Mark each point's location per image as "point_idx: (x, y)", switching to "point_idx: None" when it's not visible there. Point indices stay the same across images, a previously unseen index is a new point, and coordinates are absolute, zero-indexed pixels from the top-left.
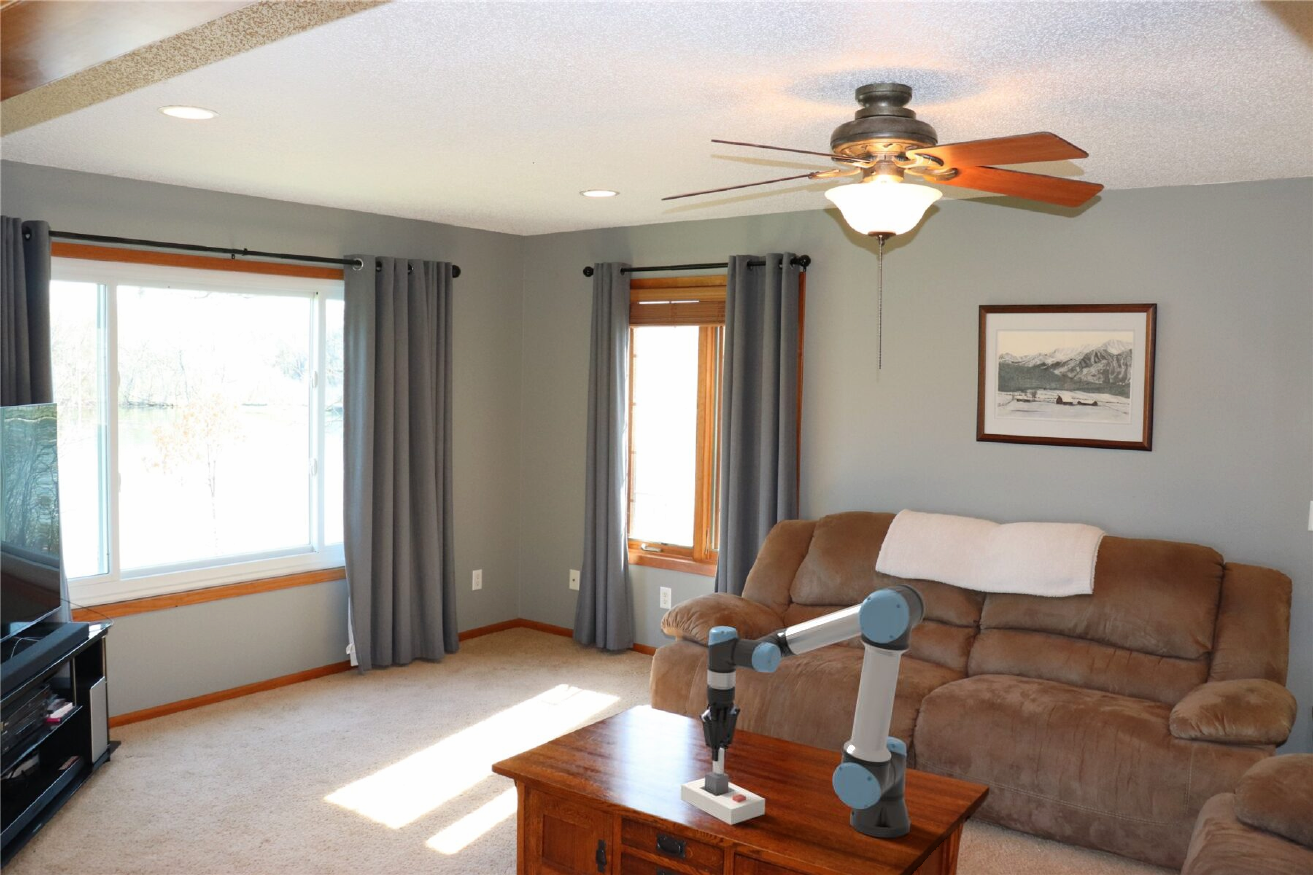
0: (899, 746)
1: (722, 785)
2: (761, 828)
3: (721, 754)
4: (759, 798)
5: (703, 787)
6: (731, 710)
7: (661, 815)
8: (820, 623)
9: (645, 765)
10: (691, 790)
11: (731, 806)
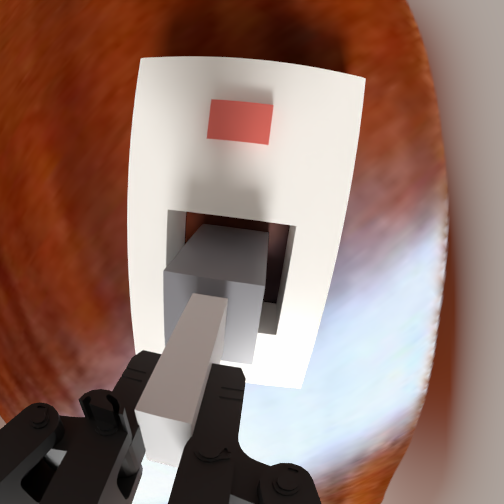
0: None
1: (219, 258)
2: (274, 4)
3: (183, 384)
4: (154, 74)
5: None
6: None
7: (432, 311)
8: None
9: None
10: (314, 339)
11: (337, 97)
